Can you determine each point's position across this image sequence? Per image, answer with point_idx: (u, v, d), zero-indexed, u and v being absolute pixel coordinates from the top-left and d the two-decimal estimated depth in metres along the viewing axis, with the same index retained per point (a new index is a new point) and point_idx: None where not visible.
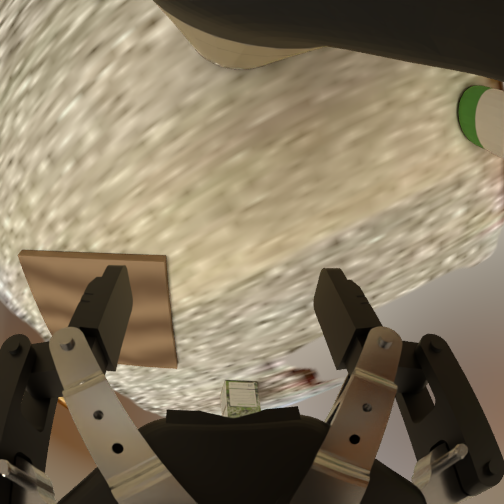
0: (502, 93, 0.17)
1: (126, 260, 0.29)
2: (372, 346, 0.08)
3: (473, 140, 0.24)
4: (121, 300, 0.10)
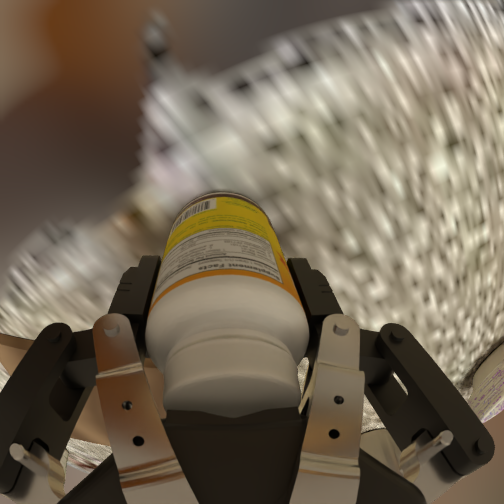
0: None
1: None
2: (329, 335, 0.08)
3: None
4: None
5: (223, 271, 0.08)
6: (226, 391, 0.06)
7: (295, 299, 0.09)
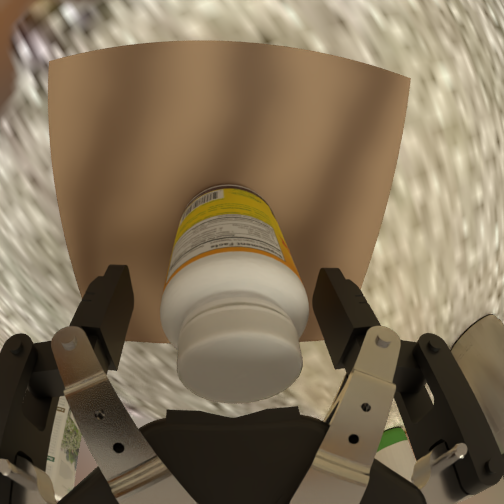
0: None
1: None
2: (370, 345, 0.08)
3: None
4: (123, 299, 0.10)
5: (233, 248, 0.09)
6: (236, 352, 0.07)
7: (296, 275, 0.10)
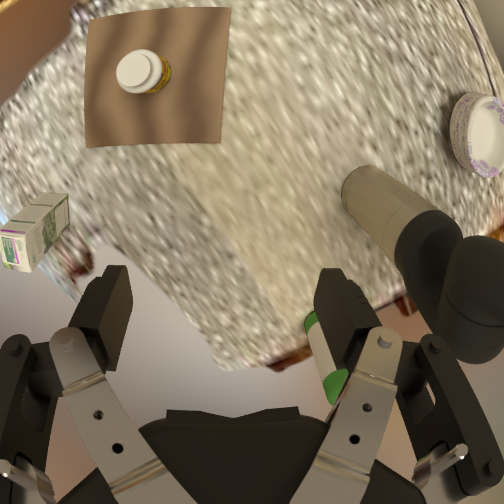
0: None
1: (221, 113, 0.36)
2: (372, 346, 0.08)
3: (309, 322, 0.56)
4: (121, 300, 0.10)
5: (139, 50, 0.24)
6: (131, 60, 0.23)
7: (157, 55, 0.25)
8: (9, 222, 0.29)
